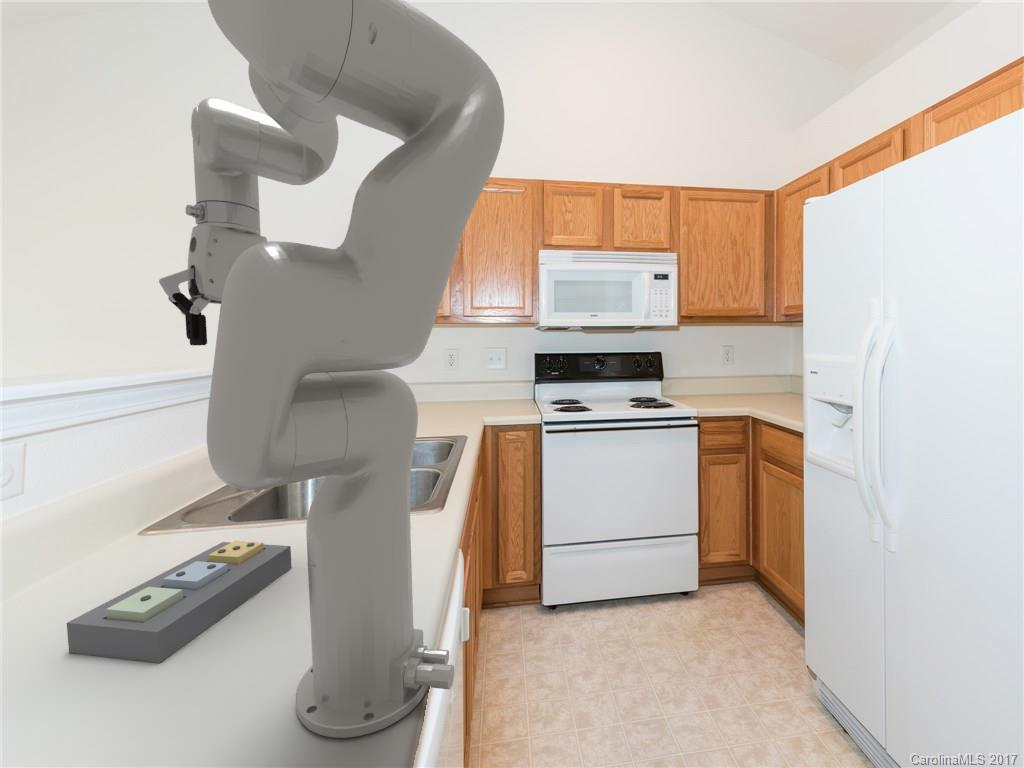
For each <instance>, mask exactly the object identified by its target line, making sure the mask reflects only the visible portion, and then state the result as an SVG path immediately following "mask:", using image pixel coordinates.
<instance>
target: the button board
mask: <svg viewBox="0 0 1024 768" xmlns="http://www.w3.org/2000/svg"><path fill="white" fill-rule="evenodd" d="M232 542H233V541H231V542H230V541H229V542H228V541H221V542H219V543H218V544H217V545H214V546H212V547H211V548H208V549H206V550H205V551H203V552H200V553H199V554H197V555H195V556H193V557H191V558H189V559H188V560H185V561H184V562H182V563H180V564H178V565H176V566H173V567H172V568H170V569H168V570H166V571H164V572H162V573H160V574H158V575H156V576H154V577H152V578H151V579H149V580H146V581H145V582H142V583H140V584H139V585H136V586H135V587H133V588H132V589H129V590H128V591H125V592H124V593H121V594H119V595H118V596H116V597H113V598H112V599H110V600H108V601H106V602H104V603H102V604H100V605H98V606H96V607H94V608H92V609H91V610H89V611H87V612H85V613H83V614H81V615H79V616H77V617H75V618H73V619H71V620H69V621H67V622H66V632H67V644H68V645H67V646H68V653H71V654H77V655H78V654H79V655H87V656H95V657H104V658H105V657H106V658H112V659H120V660H121V659H122V660H131V661H139V662H145V663H146V662H148V663H156V664H162V662H164V661H165V660H167V659H168V658H169V657H171V656H172V655H174V654H175V653H176V652H178V651H179V650H180V649H182V648H183V647H185V646H186V645H187V644H188V643H190V642H191V641H193V640H195V639H196V638H197V637H198V636H200V635H201V634H202V633H204V632H205V631H207V630H208V629H209V628H211V627H213V625H215V624H216V623H217V622H219V621H220V620H222V619H223V618H224V617H227V615H229V614H230V613H231V612H233V611H234V610H235V609H237V608H238V607H240V606H241V605H242V604H244V603H245V602H246V601H248V600H249V599H251V598H252V597H253V596H254V595H256V594H257V593H259V592H260V591H261V590H263V589H264V588H265V587H267V586H269V585H270V584H271V583H273V582H274V581H275V580H277V579H278V578H280V577H281V576H282V575H284V574H286V572H288V571H289V570H291V569H292V568H293V567H292V565H293V564H292V551H291V550H292V548H291V547H292V546H291V545H280V544H279V545H278V544H265V543H263V545H264V550H263V551H261V552H260V553H258V554H256V555H255V556H253V557H251V558H250V559H248V560H246V561H245V562H243V563H242V564H240V565H233V564H228V572H227V573H225V574H223V575H222V576H220V577H218V578H217V579H215V580H214V581H212V582H210V583H209V584H207V585H205V586H204V587H202V588H200V589H199V590H185V589H181V590H183V599H182V600H181V601H179V602H177V603H176V604H174V605H172V606H171V607H169V608H167V609H166V610H164V611H162V612H161V613H159V614H158V615H156V616H154V617H153V618H151V619H149V620H148V621H146V622H144V623H138V622H128V621H118V620H107V615H106V609H107V608H109V607H111V606H113V605H115V604H117V603H119V602H121V601H122V600H124V599H126V598H128V597H130V596H132V595H134V594H136V593H137V592H139V591H141V590H143V589H145V588H147V587H157V588H164V585H163V579H164V578H166V577H168V576H169V575H171V574H173V573H175V572H177V571H179V570H181V569H183V568H185V567H186V566H188V565H190V564H192V563H194V562H196V561H199V562H208V555H209V554H211V553H213V552H215V551H217V550H218V549H220V548H222V547H224V546H226V545H228V544H230V543H232ZM169 589H173V588H169Z"/></svg>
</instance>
